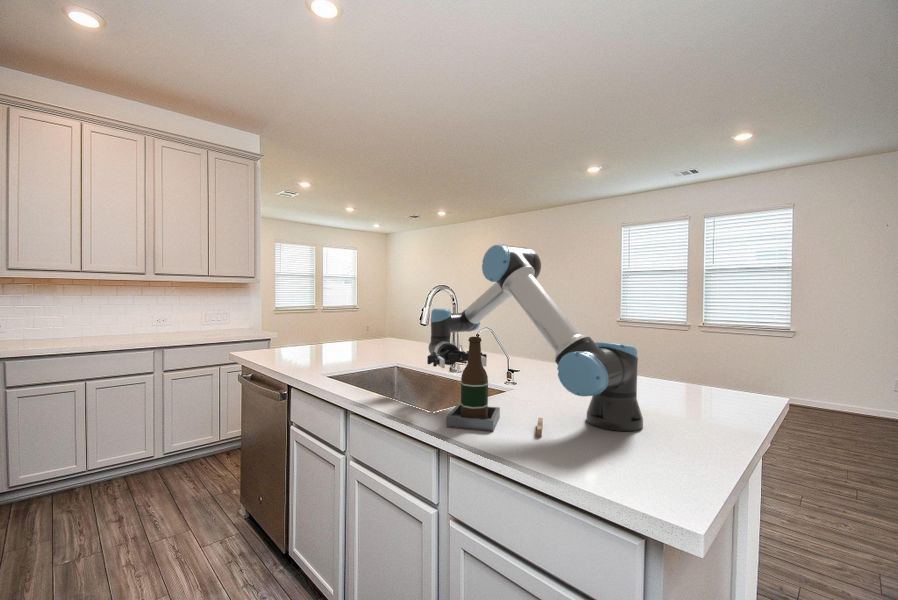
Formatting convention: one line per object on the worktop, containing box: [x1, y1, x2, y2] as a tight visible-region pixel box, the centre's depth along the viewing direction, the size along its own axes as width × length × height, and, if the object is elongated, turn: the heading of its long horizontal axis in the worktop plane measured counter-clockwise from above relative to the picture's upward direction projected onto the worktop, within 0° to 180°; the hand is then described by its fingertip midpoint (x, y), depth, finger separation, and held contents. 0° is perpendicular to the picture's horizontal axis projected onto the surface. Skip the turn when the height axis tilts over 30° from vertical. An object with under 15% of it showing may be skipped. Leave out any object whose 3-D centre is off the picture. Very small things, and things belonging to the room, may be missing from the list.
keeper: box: [445, 403, 501, 433], centre depth 116 cm, size 13×13×3 cm
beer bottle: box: [460, 336, 489, 419], centre depth 116 cm, size 8×8×24 cm
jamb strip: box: [536, 417, 544, 438], centre depth 109 cm, size 10×1×2 cm, turn 165°
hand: (464, 363), depth 125 cm, fingers open, 13 cm apart
